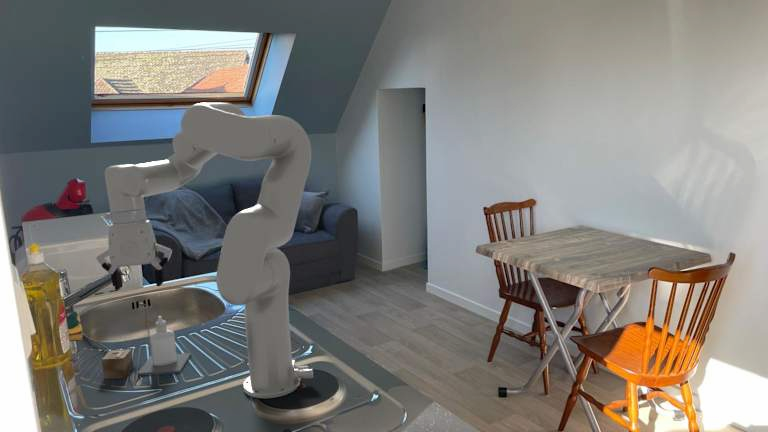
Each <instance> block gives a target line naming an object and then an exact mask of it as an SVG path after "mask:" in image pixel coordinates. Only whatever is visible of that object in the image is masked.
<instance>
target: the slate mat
mask: <svg viewBox="0 0 768 432" xmlns="http://www.w3.org/2000/svg"><path fill="white" fill-rule="evenodd" d="M191 353H192V352H186V353H176V354H177V361H176V362H175V363H172V364H169V365H163V366H154V365H153V360H152V355H150V356H149V358H147V360H146V361H145V363H144V364H143V365H142V367H141V368H140V369H139V370H138V372H137V373H136V375H137V376H152V375H153V376H154V375H164V374H165V375H166V374H167V375H168V374H180V373H181V372H183V369H184V368H185V366H186V365H187V363H188V361H189V359H190V358H191V356H192V354H191Z"/></svg>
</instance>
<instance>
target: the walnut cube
mask: <svg viewBox="0 0 768 432" xmlns="http://www.w3.org/2000/svg"><path fill="white" fill-rule="evenodd" d="M101 363H102V364H101V365H102V372H103V378H104V380H107V379H110V380H111V379H122V378H123V379H124V378H127V377H128V376H129V375H130V373H131V372H132V371H133V370H134V361H133V353H132V349H115V350H109V351H108V352H107V353H106V354H105V356H103V358H102V359H101Z"/></svg>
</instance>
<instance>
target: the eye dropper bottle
mask: <svg viewBox="0 0 768 432" xmlns="http://www.w3.org/2000/svg"><path fill="white" fill-rule="evenodd" d="M154 325H155V331H154V332H152V333H150V336H149V342H150V351H151V352H150V353H151V356H152V360H153V365H154V366H163V365H169V364H172V363H175V362H176V361H177V354H178V353H177V347H176V338H175V337H176V336H175V332H174V331H173V330H172V329H168V326H167V321H166V320H165V319H163V317H162V315H159V316H158V317H157V321H156V322H155V323H154Z"/></svg>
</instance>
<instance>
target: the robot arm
mask: <svg viewBox="0 0 768 432" xmlns="http://www.w3.org/2000/svg"><path fill="white" fill-rule="evenodd" d="M181 117H182V118H181V120H180V130H179V131H178V132H177V133H176V134H174V137H173V138H172V148H173V151H174V154H172V155H171V156H169V157H167V158H165V159H164V160H156V161H151V162H150V161H149V162H144V163H137V164H130V163H127V164H117V165H110V166H108V167H107V168H105V170H104V179H105V180H104V181H105V184H106V186H105V187H106V191H107V192H106V193H107V197H108V203H109V213H105V214H104V218H105V220H106V221H108V220H109V221H110V222H111V224H109V225H108V229H107V230H108V234H107V235H108V236H107V237H108V238H107V241H108V242H107V243H108V245H107V246H108V249H107V250H105V251H104V252H102V253H101V254H99V255H97V256H96V260H97V261H98V263H99V265H101V267H102V268H103V270H105V271H106V272H108V274H109V275H110V277H111V283H112V286H113V287H114V290H115V291H119V290H120V289H121V288H122V287H123V286H124V284H123V279H122V274H121V271H120V270H119V269H120V267H130V266H131V267H132V266H142V265H148V264H149V265H150V264H151V265H152V266H153V267H154V268H155V270H154V277H155V284H156V285H155V286H157V287H161V286H162V285H163V284H164V282H165V271H164V267H165V266H166V264H167V263H168V262H169V261H170V259H171V255H172V253H173V249H171V248H170V247H167V246H166V245H165V246H164V245H162V244H159V243H157V240H156V236H155V232H154V229H153V226H152V224H151V221H150V220H149V219H147V212H146V206H145V199H144V198H147V197H151V196H156V195H158V194H165V193H169V192H170V193H171V192H173V191H175V190H177V189H180V188H181V187H183V186H184V185H186V184H187V183H189V182H190V181H191V180H193V179H194V178H196V177H197V176H198V175H199V174H200V173H201V171H202V168H203V167H204V164H205V163H207V162H208V161H209V160H211V159H212V158H214V157H216V156H217V155H218V154H219V155H221V156H222V155H223V156H225V157H228V158H232V159H235V160H240V161H246V162H255V161H259V160H260V161H261V160H267V159H270V158H271V159H272V161H271V163H270V165H269V168H268V169H267V171H266V172H265V175H264V177H263V180H262V183H261V186H260V187H261V189H260V192H259V196H258V199H257V202H256V204H255V205H254V206H251V207H249V208H245V209H243V210H241V211H239V212H237V213H236V214H235V215H234V216H232V218H231V219H230V220H229V223H228V224H227V226H226V228H225V230H224V231H225V232H224V235H223V240H222V245H221V251H220V254H219V259H218V264H217V270H216V279H215V281H216V282H215V283H216V287H217V291H218V293H219V295H220V297H221V298H222V299H223V300H224V301H225V302H226V303H227V304H230V305H233V306H242V305H243V306H244V324H245V325H244V326H245V337H246V348H247V360H248V372H249V376H248V377H247V378H246V379H245V380H244V382H243V391H244V392H245V394H246V395H248V396H250V397H252V398H257V399H275V398H280V397H283V396H287V395H289V394H291V393H293V392H294V391H296V390H297V389H298V388H299V387H300V385H301V383H300V381H301V379H312V378H314V369H313V368H309V365H302V366H298V365H296V361H295V360H296V359H293V353H292V341H291V339H292V338H291V329H290V326H291V325H290V312H289V309H290V308H289V291H290V289H289V288H290V279H291V267H290V262H289V259H288V257H287V256H286V254H285V253H284V252H283V251H282V250H280V249H279V248H280V247H281V246H284V245H286V244H287V243H288V242H289V241H291V239H292V237H293V235H294V230H295V228H296V223H297V218H298V214H299V210H300V207H301V204H302V200H303V198H302V197H303V195H304V194H303V193H304V190H305V185H306V182H307V178H308V176H309V173H310V172H309V171H310V168H311V162H312V147H311V146H312V145H311V141H310V139H309V136H308V135H307V134H308V133H307V132H306V130H305V129H304V128H303V127H302V125H300V124H299V123H298V121H296V120H294V119H293V118H291V117H289V116H284V115H279V114H277V115H276V114H271V115H270V114H269V115H266V114H265V115H255V116H254V115H253V116H246V113H244V111H243V110H242V109H241V108H240V107H238V106H237V105H235V104H232V103H230V102H200V103H199V102H198V103H195V104H192V105H191V106H190V107H188V108H187V109H186V110H185V112H184V113H183V115H182V116H181ZM159 252H160V253H163V258H162V259H160V258H159ZM107 257H109V261H107V259H106V258H107ZM298 386H299V387H298ZM297 387H298V388H297Z"/></svg>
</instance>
